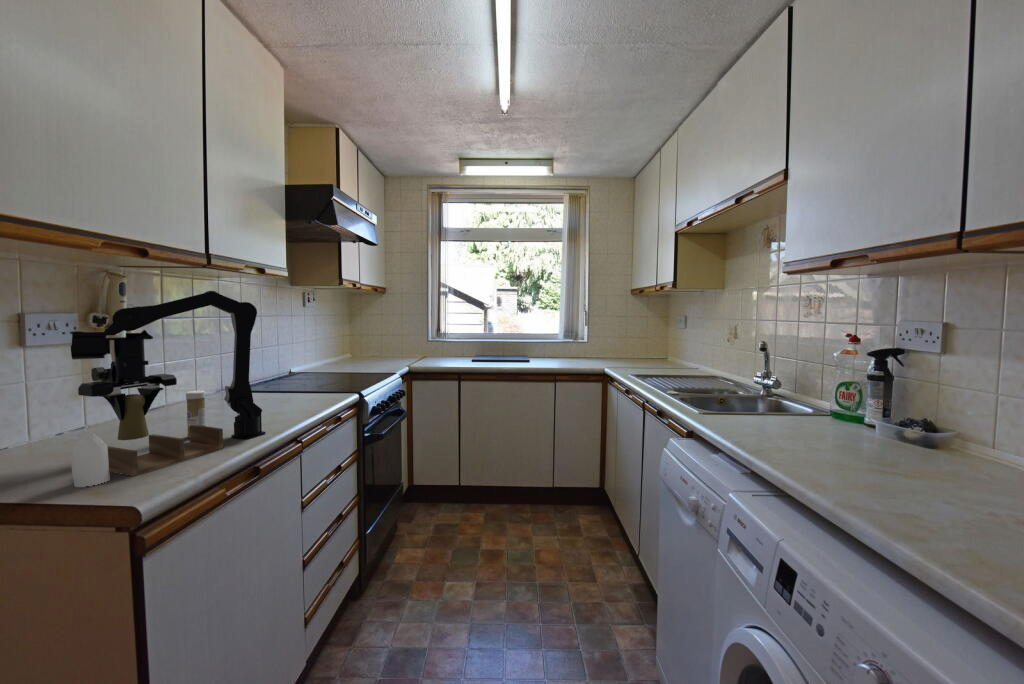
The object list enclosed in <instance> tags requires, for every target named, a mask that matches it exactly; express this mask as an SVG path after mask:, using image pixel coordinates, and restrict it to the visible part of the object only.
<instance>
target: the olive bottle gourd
mask: <svg viewBox="0 0 1024 684" xmlns="http://www.w3.org/2000/svg"><path fill="white" fill-rule="evenodd" d="M144 404H145V397H144V396H143V395H140V393H139V394H137V393H135V394H134V393H132V394H131V393H129V394H125V415H124V419H123V420H119V425H118V433H117V440H119V441H132V440H138V439H142V438H146V437H149V435H150V434H149V429H148V425H147V419H146V415H144V410H143V405H144Z"/></svg>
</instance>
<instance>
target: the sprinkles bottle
mask: <svg viewBox="0 0 1024 684" xmlns="http://www.w3.org/2000/svg"><path fill="white" fill-rule="evenodd" d="M205 398H206V391H205V390H202V389H201V390H190V391H187V392H185V399H186V424H187V425H186V426H187V427H186V428H187V435H186V437H187V438H188V439H190V425H199V426H206V425H207V424H206V422H207V421H206V419H207V418H206V399H205Z"/></svg>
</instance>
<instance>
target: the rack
mask: <svg viewBox="0 0 1024 684" xmlns="http://www.w3.org/2000/svg"><path fill="white" fill-rule="evenodd" d="M223 431H224V429H223V428H221V427H212V426H206V425H205V426H199V425H190V438H189V441H188V442H185V439H184V438H179V437H174V436H167V435H160V434H155V433H153V434H149V435H148V451H149V452H148V453H147V452H146V453H144V454H140V455H138V451H137V450H133V449H127V448H121V447H114V446H109V445H107V448H108V461H109V471H110V472H109V473H112V472H116V473H115V474H117V473H122V474H127V475H131V476H130V477H132V476H134V475H137V474H140V475H142V474H141V473H143V474H145V473H144V472H146V473H149V472H148V471H150V472H152V470H153V471H155V469H156V470H159V469H162V468H161V467H163V468H165V466H166V467H168V465H169V466H172V465H175V464H178V462H179V463H182V462H184V460H185V461H188V460H191V459H190V458H192V459H194V458H193V457H195V458H197V457H196V456H198V457H200V455H201V456H204V455H208V454H211V453H213V452H216V451H219V450H220V449H221V450H223V449H224V434H223ZM210 452H211V453H210ZM207 453H208V454H207ZM203 454H204V455H203ZM187 459H188V460H187ZM181 461H182V462H181ZM174 463H175V464H174ZM171 464H172V465H171ZM158 468H159V469H158ZM122 474H121V475H122ZM127 475H126V476H127ZM137 476H138V475H137ZM134 477H135V476H134Z"/></svg>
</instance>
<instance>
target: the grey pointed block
mask: <svg viewBox="0 0 1024 684" xmlns="http://www.w3.org/2000/svg"><path fill="white" fill-rule="evenodd" d="M107 446H108V445H107V444H106V443H105V442H104V441H103V440H102V439H101V438H100V437H98V436H97V435H96V434H94V433H93V432H91V431H90V430H86V428H85V427H84V428H81V429H80V433H79V436H78V438H77V441H76V443H75V444H74V445H73V447H71V449H70V456H71V458H70V459H71V476H72V479H73V485H74V487H75V488H86V487H85V486H89V487H93V485H95V486H99V485H102V484H101V483H103V484H105V483H107V481H108V482H109V481H110V480H111V475H110V474H111V473H110V472H109V461H108V448H107ZM104 482H105V483H104ZM98 484H99V485H98Z"/></svg>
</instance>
